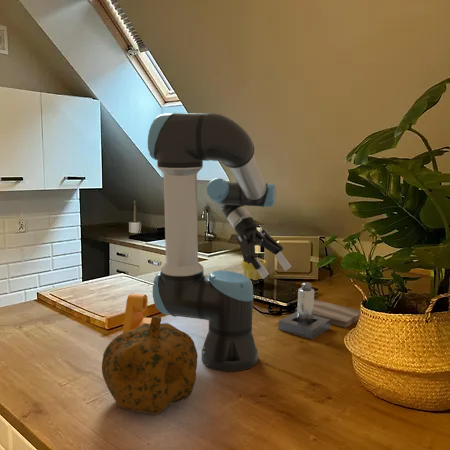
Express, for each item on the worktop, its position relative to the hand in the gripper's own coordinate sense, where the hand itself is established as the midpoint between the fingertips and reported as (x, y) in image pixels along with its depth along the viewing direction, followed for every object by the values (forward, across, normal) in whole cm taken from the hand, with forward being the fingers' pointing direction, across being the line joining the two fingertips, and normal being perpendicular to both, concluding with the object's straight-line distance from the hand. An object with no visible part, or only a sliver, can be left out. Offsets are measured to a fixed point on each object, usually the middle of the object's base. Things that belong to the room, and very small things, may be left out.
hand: (277, 272), depth 149 cm
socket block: (+20, 0, -4) cm, 20 cm away
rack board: (+20, -17, -4) cm, 26 cm away
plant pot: (-11, -32, -35) cm, 49 cm away
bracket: (-6, +37, -30) cm, 48 cm away
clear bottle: (+20, 0, -4) cm, 20 cm away
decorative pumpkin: (+16, +61, -7) cm, 64 cm away
